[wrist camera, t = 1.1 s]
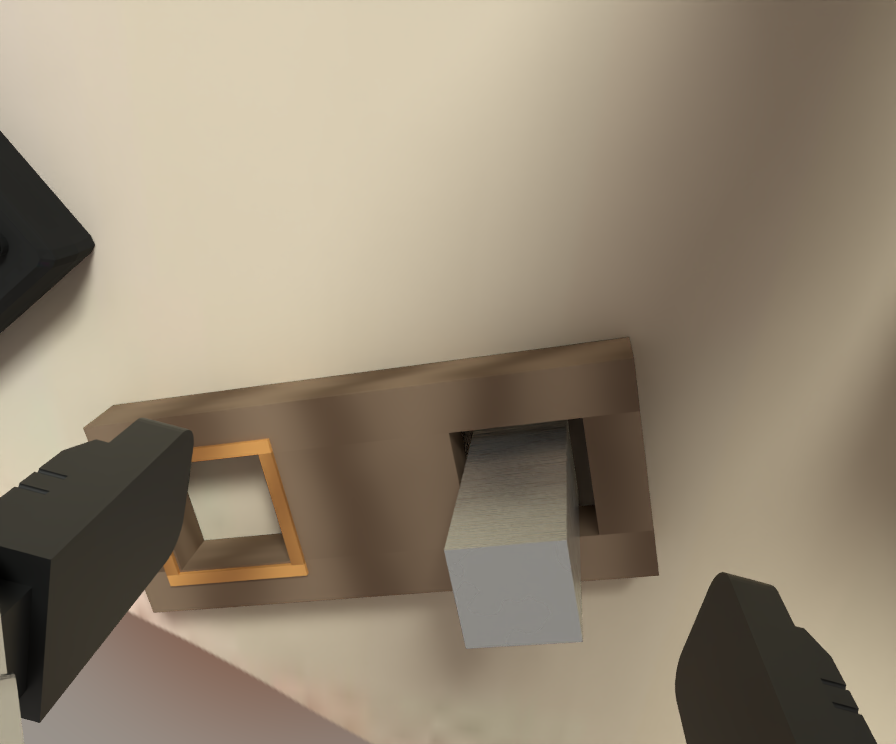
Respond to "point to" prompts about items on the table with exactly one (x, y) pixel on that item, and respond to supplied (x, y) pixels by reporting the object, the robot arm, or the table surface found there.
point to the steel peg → (517, 538)
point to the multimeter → (32, 236)
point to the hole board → (394, 472)
